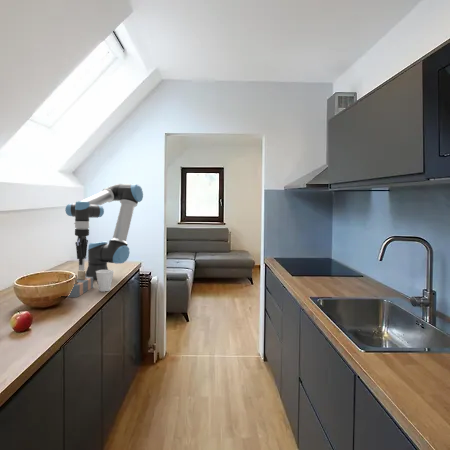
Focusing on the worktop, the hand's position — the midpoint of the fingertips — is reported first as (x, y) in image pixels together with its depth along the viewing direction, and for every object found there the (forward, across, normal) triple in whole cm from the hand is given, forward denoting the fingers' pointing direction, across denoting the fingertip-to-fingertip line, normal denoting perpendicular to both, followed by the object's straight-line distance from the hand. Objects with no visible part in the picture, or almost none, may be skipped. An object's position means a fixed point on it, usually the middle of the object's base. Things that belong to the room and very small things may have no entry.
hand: (81, 270), depth 228 cm
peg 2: (+7, 0, 0) cm, 7 cm away
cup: (+11, +1, +14) cm, 18 cm away
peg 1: (+7, +12, 0) cm, 14 cm away
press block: (+11, +6, 0) cm, 12 cm away
